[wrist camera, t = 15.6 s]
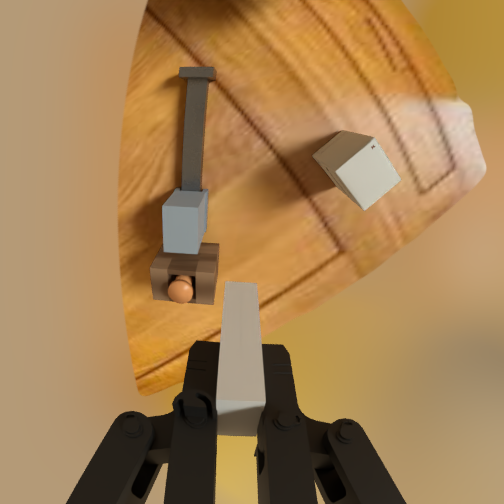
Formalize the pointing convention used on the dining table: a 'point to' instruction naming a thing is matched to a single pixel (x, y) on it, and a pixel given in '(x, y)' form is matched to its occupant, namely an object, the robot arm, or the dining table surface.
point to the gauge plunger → (181, 289)
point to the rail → (194, 124)
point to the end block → (187, 272)
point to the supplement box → (357, 167)
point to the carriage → (184, 221)
